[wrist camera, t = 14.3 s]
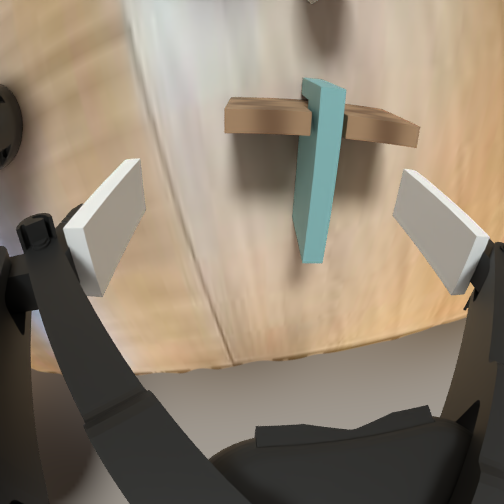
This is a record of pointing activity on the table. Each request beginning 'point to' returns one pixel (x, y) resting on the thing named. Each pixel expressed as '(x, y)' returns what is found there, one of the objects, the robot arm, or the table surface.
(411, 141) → the walnut plate
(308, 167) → the teal plate
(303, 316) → the table surface
